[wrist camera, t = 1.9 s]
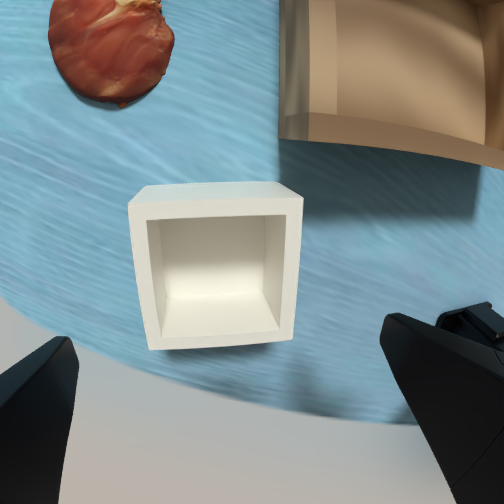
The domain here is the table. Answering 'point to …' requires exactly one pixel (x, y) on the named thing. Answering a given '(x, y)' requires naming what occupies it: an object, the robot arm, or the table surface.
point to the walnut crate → (395, 75)
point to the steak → (110, 47)
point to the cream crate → (216, 262)
